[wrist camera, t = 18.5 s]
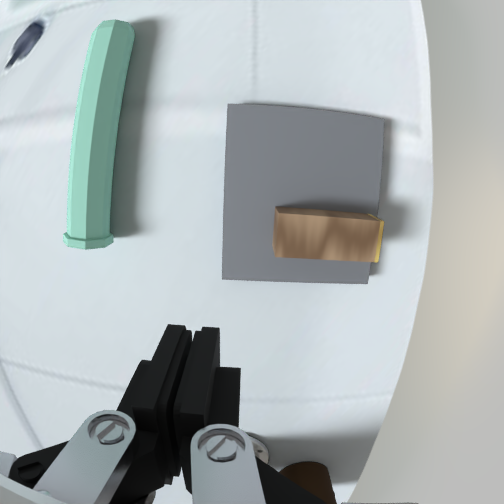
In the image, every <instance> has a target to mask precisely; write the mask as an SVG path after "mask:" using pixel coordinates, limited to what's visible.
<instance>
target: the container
mask: <svg viewBox="0 0 504 504" xmlns="http://www.w3.org/2000/svg"><path fill="white" fill-rule="evenodd" d="M134 39H135V33H134V29H133V27H132V26H131V25H130V24H129V23H128V22H124V21H120V20H108V21H103V22H102V23H101V24H99V25H98V27H97V28H96V29H95V31H94V32H93V33H92V36H91V39H90V43H89V47H88V51H87V56H86V60H85V64H84V69H83V74H82V79H81V84H80V89H79V95H78V100H77V107H76V113H75V120H74V127H73V135H72V144H71V154H70V166H69V180H68V201H67V233H64V234H63V241H64V243H65V244H66V245H67V246H68V247H72V248H79V249H85V250H86V249H95V248H105V247H107V246H108V245H110V244H111V243H113V234H111V233H110V208H111V191H112V178H113V167H114V157H115V147H116V139H117V131H118V124H119V117H120V110H121V104H122V98H123V92H124V86H125V81H126V75H127V70H128V65H129V61H130V56H131V51H132V47H133V43H134Z"/></svg>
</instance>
